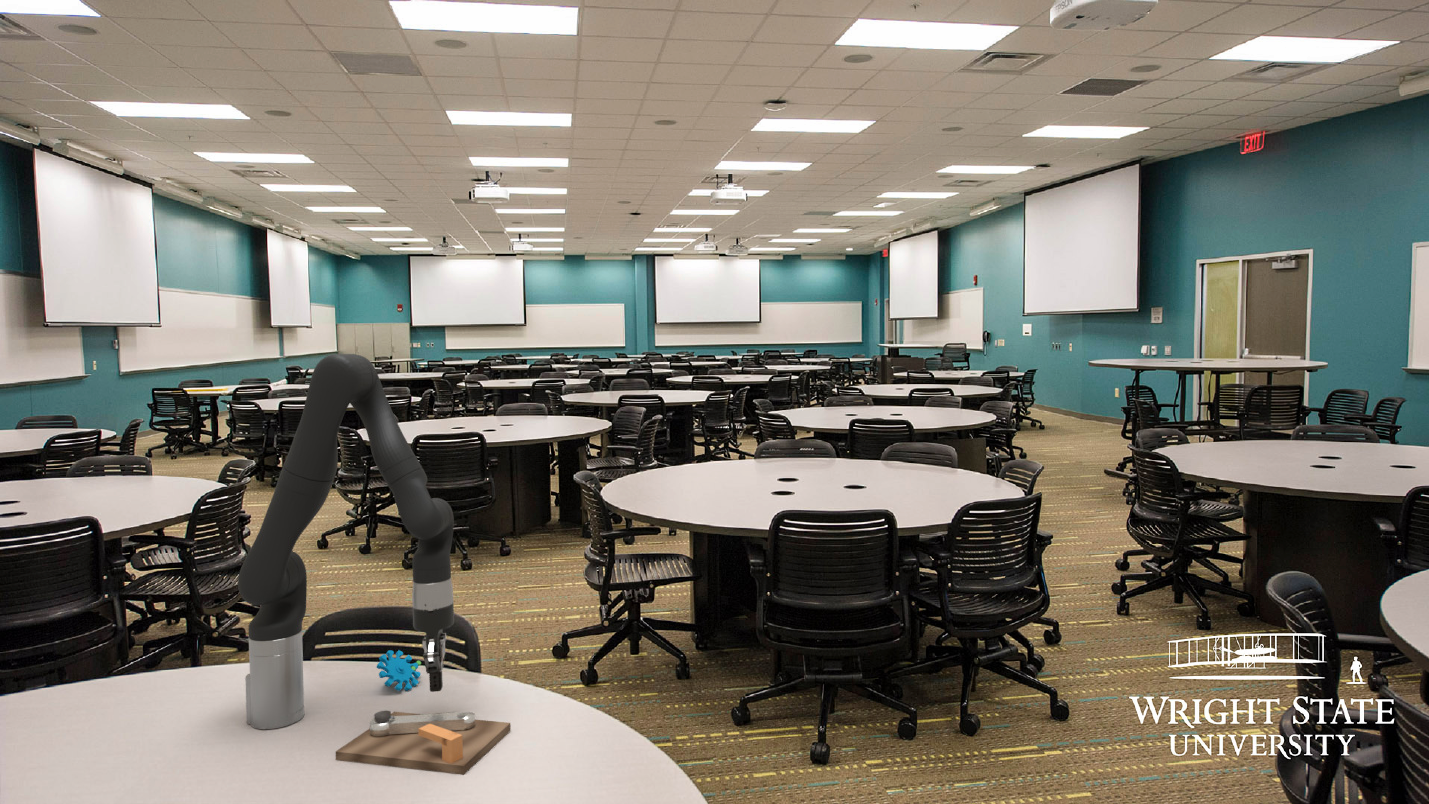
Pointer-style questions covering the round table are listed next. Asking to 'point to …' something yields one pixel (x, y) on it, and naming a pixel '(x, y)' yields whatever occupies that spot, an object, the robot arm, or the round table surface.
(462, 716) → the lever
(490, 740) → the base plate
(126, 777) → the round table surface
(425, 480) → the robot arm
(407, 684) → the gear
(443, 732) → the block
